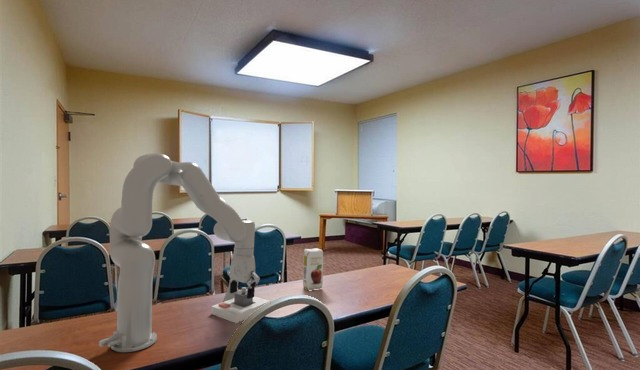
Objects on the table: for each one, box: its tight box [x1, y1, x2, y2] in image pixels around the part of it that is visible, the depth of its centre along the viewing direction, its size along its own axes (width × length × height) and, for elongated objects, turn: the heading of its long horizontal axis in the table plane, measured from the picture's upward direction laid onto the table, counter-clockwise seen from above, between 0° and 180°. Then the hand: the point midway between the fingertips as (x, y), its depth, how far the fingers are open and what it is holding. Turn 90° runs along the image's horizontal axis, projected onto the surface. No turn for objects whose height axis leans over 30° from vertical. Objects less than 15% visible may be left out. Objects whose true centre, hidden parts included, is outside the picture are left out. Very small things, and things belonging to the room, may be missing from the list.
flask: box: [222, 282, 239, 302], centre depth 145 cm, size 7×7×10 cm
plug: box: [234, 286, 253, 307], centre depth 134 cm, size 5×5×8 cm
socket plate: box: [210, 295, 271, 324], centre depth 133 cm, size 18×14×4 cm
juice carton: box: [302, 247, 324, 291], centre depth 163 cm, size 8×9×19 cm
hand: (241, 295), depth 133 cm, fingers open, 9 cm apart
